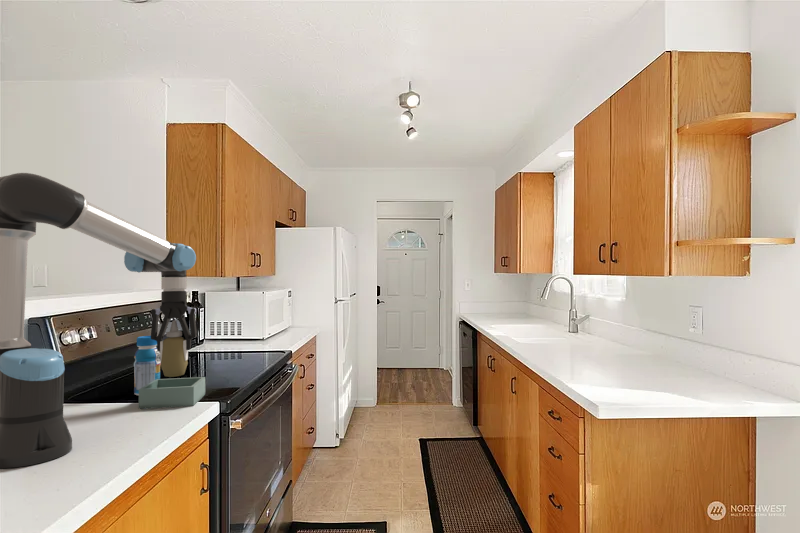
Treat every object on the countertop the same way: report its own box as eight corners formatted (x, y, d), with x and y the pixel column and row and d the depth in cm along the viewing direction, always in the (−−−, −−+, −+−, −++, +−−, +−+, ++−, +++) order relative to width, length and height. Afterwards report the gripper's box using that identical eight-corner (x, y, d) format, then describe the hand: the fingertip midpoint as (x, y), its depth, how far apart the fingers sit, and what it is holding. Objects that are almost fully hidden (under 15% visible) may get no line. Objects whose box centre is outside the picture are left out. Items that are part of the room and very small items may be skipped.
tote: (193, 405, 149) (193, 386, 150) (138, 409, 147) (138, 389, 147) (205, 394, 165) (205, 377, 165) (155, 397, 162) (155, 379, 163)
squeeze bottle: (180, 377, 152) (180, 321, 153) (155, 378, 152) (155, 321, 153) (192, 373, 160) (191, 319, 161) (168, 373, 160) (168, 319, 161)
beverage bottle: (140, 397, 162) (140, 338, 163) (129, 394, 168) (129, 337, 168) (165, 392, 169) (165, 336, 170) (153, 389, 174) (153, 334, 175)
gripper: (207, 289, 163) (207, 357, 162) (146, 290, 159) (146, 360, 158) (202, 289, 155) (202, 360, 154) (138, 291, 152) (138, 363, 151)
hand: (174, 360), depth 156 cm, fingers closed on squeeze bottle, 6 cm apart
